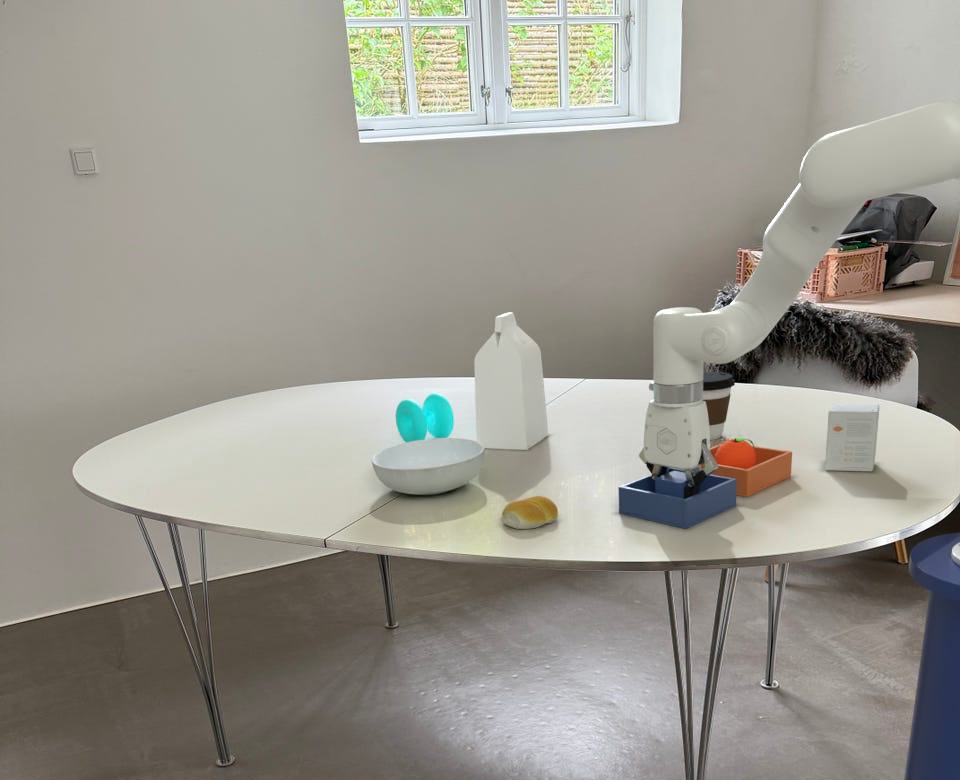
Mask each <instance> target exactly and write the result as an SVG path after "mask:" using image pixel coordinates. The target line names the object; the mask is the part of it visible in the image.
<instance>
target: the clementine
mask: <svg viewBox="0 0 960 780" xmlns="http://www.w3.org/2000/svg"><path fill="white" fill-rule="evenodd" d="M747 441H749V442H750V443H749V442H747ZM722 443H723V444H722ZM722 443H721V444H722V445H721V446H720V447H719V448H718V450H717V452H716V454H715V461H716V463H717V464H719V465H725V466H731V467H736V468H742V469H749V468H751V467H753V466H754V465H755V461H756V454H755V451H754V449H753V447H754V446H755V444H754V442H753V440H751V439H748V438H743V437H738V438H737V437H736V438H732V439H728V440H726V441H724V442H722ZM752 446H753V447H752Z"/></svg>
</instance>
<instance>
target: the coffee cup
mask: <svg viewBox="0 0 960 780" xmlns="http://www.w3.org/2000/svg"><path fill="white" fill-rule="evenodd" d="M733 378H734V375H733V374H731V373H729V372H720V371H703V401H705V402H706V406H707V411H708V418H709V429H710V441H713V440H717V439H720V438H721V437H722V435H723V433H724V428H725V422H727V417H728V411H729V405H730V400H731V395H732V394H731V392H732V391H731V390H732V387H733V386H735V384H736V381H735V379H733Z"/></svg>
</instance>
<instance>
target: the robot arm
mask: <svg viewBox="0 0 960 780" xmlns="http://www.w3.org/2000/svg"><path fill="white" fill-rule="evenodd" d="M798 177H799V178H798V180H799V183H798V185H797V186H796V188H795V189H794V190H793V191H792V193H791V194H790V196H789V197H788V199H787V200H786V202H784V204H783V206H782V207H781V209H779V211H778V213H777V214H776V215H775V216H774V218H773V219H772V221H771V222H770V223H769V224H768V227H766V230H765V231H764V234H763V239H762V253H761V256H760V259H759V261H758V263H757V265H756V267H755V269H754V271H753V272H752V274H750V277H749V278H748V279H747V281H746V283H745V284H744V285H743V286H742V288H741V289H740V290H739V292H738V294H737V295H736V296H735V297H734V299H733V300H732V301H731V302H730V304H728V305H725V306H723V307H720V308H719V309H715V310H712V311H708V312H703V311H702V310H701V309H699V308H697V307H687V306H686V307H685V306H682V307H681V306H680V307H670V308H666V309H665V308H664V309H662V310H660V311H658V312H657V313H656V314H655V316H654V318H653V327H652V329H653V335H652V336H653V344H652V345H653V349H652V350H653V357H652V359H653V361H652V362H653V381H651V382H650V383H649V384H648V389H649V391H651V392H653V399H651V400H649V402H648V406H647V410H646V413H645V414H646V415H645V421H644V433H643V448H642V449H641V450H640V452H639V454H638V457H639V459H640V460H641V461H642V462H643V464H644V465H645V466H646V468H647V470H648V471H649V473H650V474H652V479H653V480H655V478H658V477H660V476H663V475H665V474H668V471H669V467H670V468H676V469H681V470H684V472H685V476H686V481H687V486H685V488H684V499H687V498H689V497H691V496H694V495H696V494H698V493H700V483H702V482H703V481H704V479H706V478H707V477H708V476H709V475H710V474H711V473H713V472H714V471H715V470H717V469H718V464H717V463H716V461H715V459H714V457H713V456H712V454H711V452H710V448H711V440H710V429H709V418H708V411H707V406H706V402H705V401H703V372H704V365H705V363H707V364H713V365H724V364H728V363H731V362H733V361H736V360H737V359H739V358H741V357H742V356H744V355H745V354H748V353H749V352H751V351H752V350H755V349H756V348H757V347H758V346H760V344H762V343H763V341H764V340H765V339H766V338H767V337H768V335H769V334H770V333H771V332H772V331H773V329H774V328H775V326H776V325H777V324H778V323H779V321H780V320H781V319H782V318H783V317H784V315H785V314H786V313H787V311H788V310H789V309H790V308H791V306H792V304H793V303H794V302H795V300H796V299H797V298H798V296H799V294H800V293H801V291H802V289H803V288H804V286H805V285H806V283H808V281H809V280H810V278H811V277H812V275H813V273H814V271H815V270H816V268H817V267H818V265H819V264H820V263H821V261H822V260H823V259H824V257H825V256H826V255H827V253H828V252H829V251H830V249H832V247H833V246H834V244H835V243H836V241H838V239H839V238H840V237H841V235H842V234H843V232H844V231H845V230H846V229H847V227H848V226H849V225H850V224H851V222H852V221H853V220H854V218H855V217H856V216H857V215H858V213H859V212H860V211H861V209H862V208H863V207H864V206H865V204H866V203H867V202H868V201H872V200H876V199H879V198H882V197H887V196H891V195H895V194H899V193H902V192H903V193H904V192H907V191H910V190H915V189H919V188H923V187H927V186H931V185H937V184H940V183H944V182H947V181H951V180H952V179H955V180H958V181H960V101H959V100H952V101H938V102H932V103H929V104H926V105H925V104H924V105H922V106H919V107H915V108H913V109H909V110H905V111H903V112H899V113H896V114H893V115H889V116H886V117H883V118H880V119H876V120H873V121H869V122H867V123H864V124H860V125H856V126H853V127H848V128H844V129H840V130H837V131H833V132H830V133H827V134H825V135H823V136H822V137H821V138H819V139H818V140H816V142H815V143H813V144H812V145H811V146H810V148H809V149H808V150H807V152H806V153H805V156H804V157H803V158H802V162H801V164H800V168H799V176H798ZM701 464H704V465H705V467H704V468H703V469H701ZM693 471H694V474H693ZM694 475H695V476H694ZM951 557H952V560H953V561H954V562H955V563H956V564H958V565H959V566H960V543H958V544H956V545H955V546H954V547H953V549H952V553H951Z"/></svg>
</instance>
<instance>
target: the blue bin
mask: <svg viewBox="0 0 960 780" xmlns="http://www.w3.org/2000/svg"><path fill="white" fill-rule="evenodd" d="M673 471H678V472H683V473H685V472H684V470H681V469H676V468H670V467H669V471H668V473H670V472H673ZM693 474H694V471H693ZM736 490H737V479H734V478H729V477H723V476H718V475H712V474H710V475H709V476H708V477H707V478H706V479H704V481H703V482H702V483H700V493H698V494H696V495H694V496H691V497H689V498H687V499H682V498H677V497H673V496H668V495H663V494H658V493H655V480H653V479H652V474H651V473H650V474H648V475H644V476H643V477H640V478H637V479H635V480H633V481H629V482H627V483H625V484H622V485H619V486H618V514H621V515H625V516H629V517H633V518H637V519H638V518H639V519H643V520H646V521H651V522H656V523H659V524H664V525H668V526H671V527H676V528H681V529H689V528H691V527H693V526H695V525H697V524H700V523H702V522H703V521H705V520H708V519H710V518H712V517H714V516H717V515H719V514H721V513H723V512H726V511H728V510H731V508H733V507H736V506H737V495H736Z"/></svg>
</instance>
